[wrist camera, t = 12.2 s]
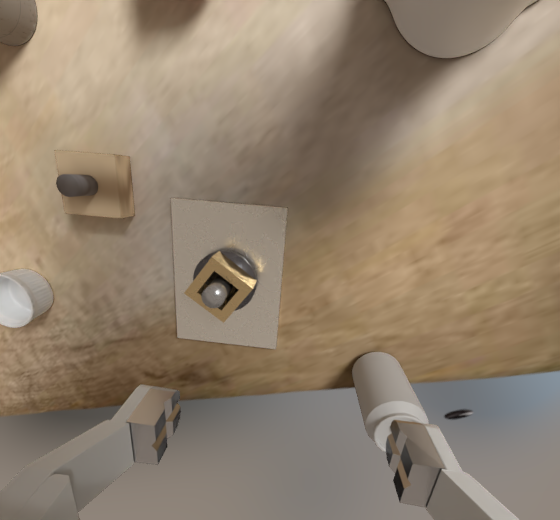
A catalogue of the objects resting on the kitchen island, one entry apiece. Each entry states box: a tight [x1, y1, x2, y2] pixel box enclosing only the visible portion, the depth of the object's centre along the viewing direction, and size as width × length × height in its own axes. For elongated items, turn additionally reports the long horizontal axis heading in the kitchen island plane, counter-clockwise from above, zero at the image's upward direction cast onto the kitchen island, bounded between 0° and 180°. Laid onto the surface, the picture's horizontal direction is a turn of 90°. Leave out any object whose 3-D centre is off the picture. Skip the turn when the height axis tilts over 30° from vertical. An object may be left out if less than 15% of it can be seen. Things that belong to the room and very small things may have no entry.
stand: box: [54, 150, 135, 218], centre depth 34 cm, size 8×8×6 cm
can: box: [352, 352, 428, 453], centre depth 36 cm, size 8×8×12 cm
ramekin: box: [0, 269, 54, 328], centre depth 41 cm, size 9×9×4 cm
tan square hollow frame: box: [184, 251, 257, 323], centre depth 36 cm, size 7×7×3 cm
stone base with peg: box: [171, 198, 288, 349], centre depth 36 cm, size 22×16×8 cm
